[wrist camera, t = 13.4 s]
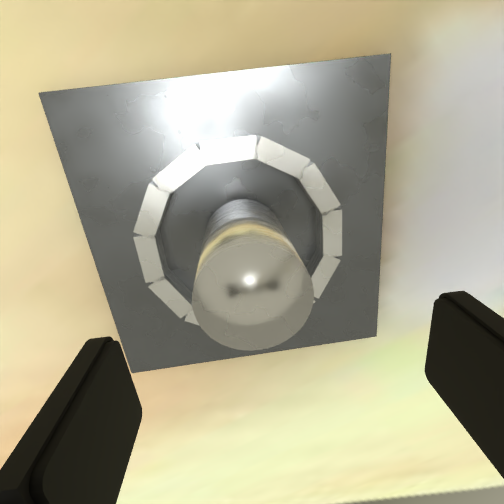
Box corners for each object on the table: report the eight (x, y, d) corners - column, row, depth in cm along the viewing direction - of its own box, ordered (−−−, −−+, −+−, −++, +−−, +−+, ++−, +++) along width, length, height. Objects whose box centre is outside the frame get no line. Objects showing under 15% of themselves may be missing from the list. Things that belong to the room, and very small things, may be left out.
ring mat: (385, 55, 17) (406, 46, 15) (372, 331, 24) (385, 349, 23) (44, 93, 17) (21, 89, 15) (133, 367, 24) (126, 388, 22)
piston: (279, 194, 19) (312, 235, 12) (284, 267, 21) (315, 342, 14) (198, 204, 19) (181, 252, 11) (211, 276, 21) (202, 357, 13)
